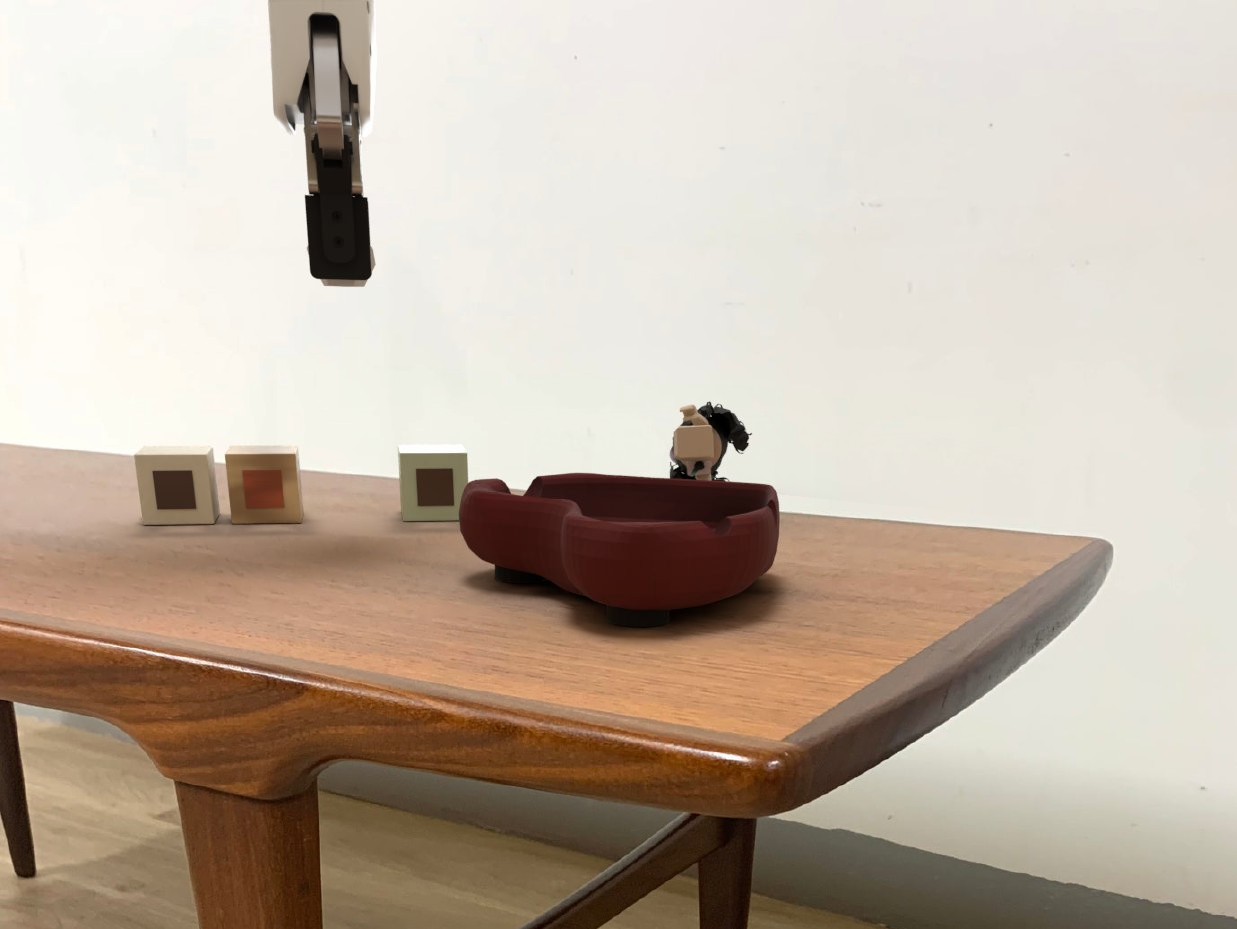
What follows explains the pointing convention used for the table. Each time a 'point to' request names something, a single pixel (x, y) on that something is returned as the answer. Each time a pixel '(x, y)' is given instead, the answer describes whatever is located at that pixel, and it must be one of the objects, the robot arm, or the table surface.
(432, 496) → the block
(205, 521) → the block
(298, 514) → the block
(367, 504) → the table surface
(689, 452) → the toy figure
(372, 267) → the game die
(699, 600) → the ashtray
